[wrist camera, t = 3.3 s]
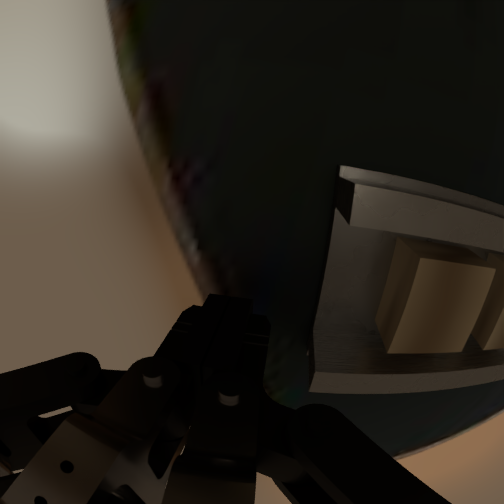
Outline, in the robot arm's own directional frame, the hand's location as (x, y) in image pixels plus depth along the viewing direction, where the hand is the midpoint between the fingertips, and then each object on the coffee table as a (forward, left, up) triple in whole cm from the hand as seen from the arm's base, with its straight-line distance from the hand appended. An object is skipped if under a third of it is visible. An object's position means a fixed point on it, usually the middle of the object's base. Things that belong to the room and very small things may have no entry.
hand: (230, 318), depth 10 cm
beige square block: (-10, 0, -5) cm, 11 cm away
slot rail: (-14, 0, -6) cm, 15 cm away
